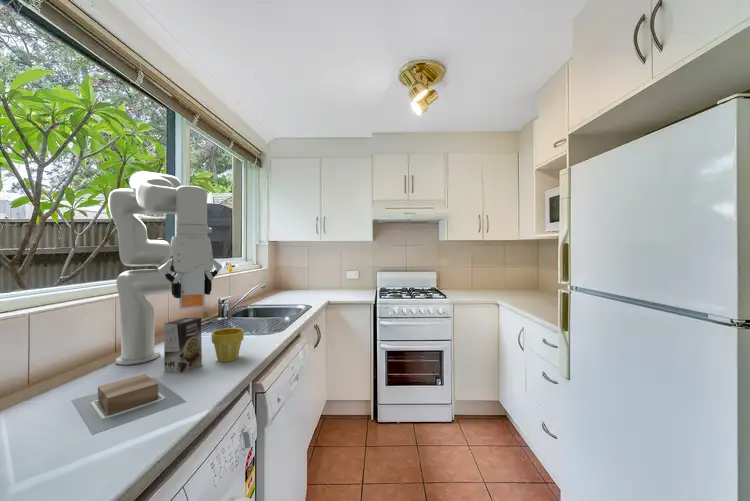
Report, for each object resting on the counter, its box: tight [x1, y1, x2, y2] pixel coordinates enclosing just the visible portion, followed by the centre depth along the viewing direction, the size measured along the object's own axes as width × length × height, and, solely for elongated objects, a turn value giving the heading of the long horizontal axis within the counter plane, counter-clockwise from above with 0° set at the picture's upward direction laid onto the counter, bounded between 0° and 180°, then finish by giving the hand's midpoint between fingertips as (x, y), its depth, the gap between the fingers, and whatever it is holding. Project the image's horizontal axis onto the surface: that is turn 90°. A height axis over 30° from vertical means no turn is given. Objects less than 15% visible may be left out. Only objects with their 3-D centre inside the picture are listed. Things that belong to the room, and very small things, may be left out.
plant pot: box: [211, 327, 245, 363], centre depth 114 cm, size 10×10×10 cm
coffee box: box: [163, 317, 203, 374], centre depth 104 cm, size 9×6×16 cm
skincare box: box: [178, 264, 205, 310], centre depth 89 cm, size 6×4×12 cm
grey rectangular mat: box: [70, 376, 187, 436], centre depth 81 cm, size 24×18×1 cm
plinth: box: [97, 373, 158, 416], centre depth 81 cm, size 10×10×4 cm
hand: (192, 295), depth 89 cm, fingers closed on skincare box, 7 cm apart
